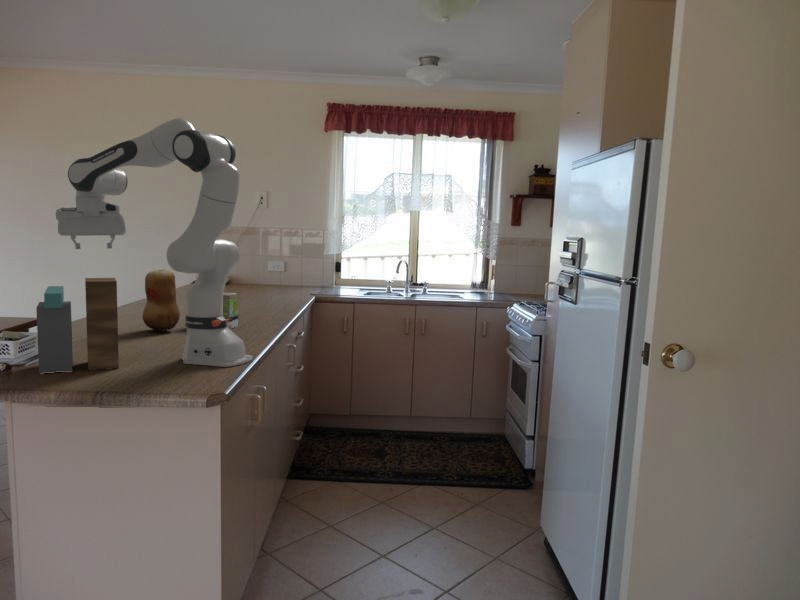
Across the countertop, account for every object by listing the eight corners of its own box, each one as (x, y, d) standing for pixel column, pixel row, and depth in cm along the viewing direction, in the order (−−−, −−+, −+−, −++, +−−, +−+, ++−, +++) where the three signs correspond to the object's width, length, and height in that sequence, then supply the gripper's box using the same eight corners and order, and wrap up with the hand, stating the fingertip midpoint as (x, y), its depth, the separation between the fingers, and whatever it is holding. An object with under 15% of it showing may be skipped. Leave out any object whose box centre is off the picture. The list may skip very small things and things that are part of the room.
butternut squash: (135, 332, 223) (134, 269, 220) (159, 327, 236) (158, 267, 233) (164, 335, 219) (163, 271, 216) (187, 330, 232) (186, 269, 229)
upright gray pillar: (42, 365, 169) (39, 302, 166) (73, 362, 172) (70, 301, 170) (39, 374, 158) (36, 307, 156) (72, 372, 162) (69, 306, 160)
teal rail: (48, 299, 173) (48, 286, 172) (63, 299, 174) (63, 286, 174) (44, 308, 155) (44, 293, 155) (61, 307, 157) (61, 293, 157)
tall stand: (88, 361, 174) (85, 278, 171) (116, 359, 178) (114, 277, 175) (88, 370, 164) (85, 281, 161) (118, 368, 168) (116, 281, 165)
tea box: (238, 326, 245) (238, 292, 244) (229, 330, 236) (229, 295, 234) (205, 324, 247) (205, 291, 245) (194, 328, 237) (194, 293, 235)
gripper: (54, 205, 183) (57, 248, 183) (124, 206, 193) (127, 247, 193) (55, 209, 188) (58, 250, 189) (123, 209, 198) (126, 249, 198)
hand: (94, 248), depth 191 cm, fingers open, 8 cm apart
